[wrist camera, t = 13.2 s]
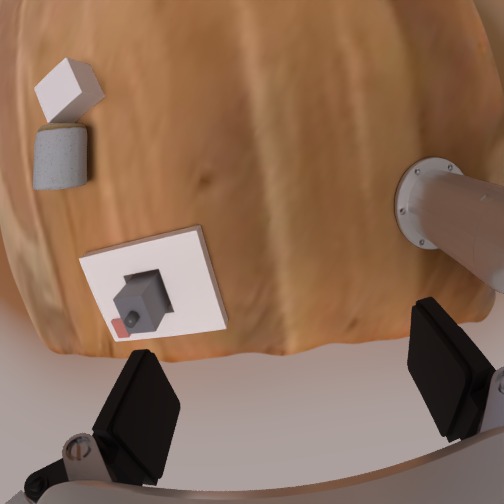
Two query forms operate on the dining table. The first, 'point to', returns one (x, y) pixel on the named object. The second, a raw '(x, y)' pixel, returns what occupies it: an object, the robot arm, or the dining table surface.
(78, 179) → the ceramic mug
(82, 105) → the light grey cube
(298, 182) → the dining table surface
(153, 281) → the plug
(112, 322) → the socket plate
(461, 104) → the dining table surface
